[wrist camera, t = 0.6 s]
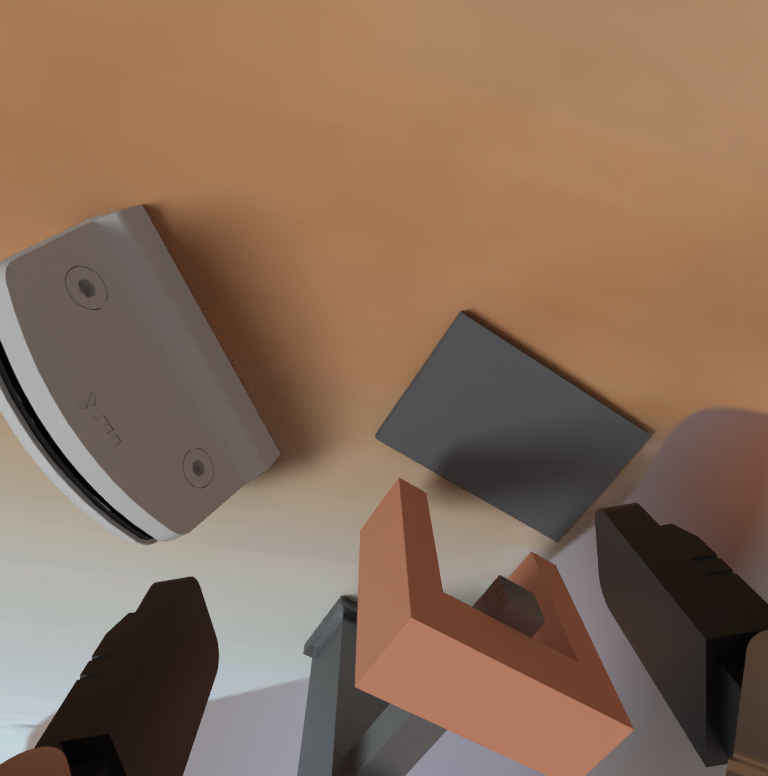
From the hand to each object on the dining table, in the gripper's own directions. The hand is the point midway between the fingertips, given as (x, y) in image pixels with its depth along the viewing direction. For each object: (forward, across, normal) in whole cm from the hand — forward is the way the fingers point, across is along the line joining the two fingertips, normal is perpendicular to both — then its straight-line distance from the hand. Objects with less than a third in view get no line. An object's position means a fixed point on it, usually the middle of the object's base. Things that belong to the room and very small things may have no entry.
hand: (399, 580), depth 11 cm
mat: (+22, -7, +7) cm, 24 cm away
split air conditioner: (+22, +13, -1) cm, 26 cm away
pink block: (+18, -2, +12) cm, 22 cm away
